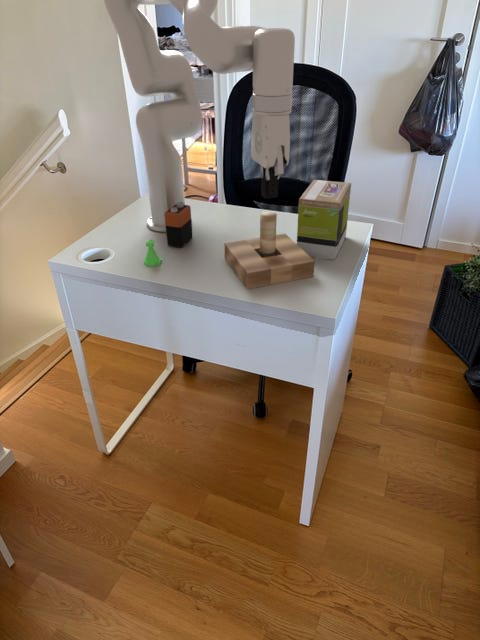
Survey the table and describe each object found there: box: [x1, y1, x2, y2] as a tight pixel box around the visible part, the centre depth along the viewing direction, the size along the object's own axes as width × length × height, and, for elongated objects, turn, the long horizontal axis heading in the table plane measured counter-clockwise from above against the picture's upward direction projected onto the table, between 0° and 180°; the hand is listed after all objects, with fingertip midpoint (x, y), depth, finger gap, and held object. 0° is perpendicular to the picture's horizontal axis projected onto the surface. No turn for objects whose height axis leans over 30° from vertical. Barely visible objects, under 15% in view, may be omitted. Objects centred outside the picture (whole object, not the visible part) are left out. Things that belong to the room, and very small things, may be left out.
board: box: [223, 233, 316, 290], centre depth 108 cm, size 16×16×4 cm
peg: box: [259, 211, 278, 258], centre depth 106 cm, size 4×4×13 cm
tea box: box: [296, 179, 352, 261], centre depth 115 cm, size 15×10×15 cm, turn 159°
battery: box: [164, 202, 193, 249], centre depth 118 cm, size 4×7×10 cm, turn 160°
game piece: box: [143, 239, 162, 267], centre depth 110 cm, size 4×4×6 cm
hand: (269, 196), depth 100 cm, fingers closed
